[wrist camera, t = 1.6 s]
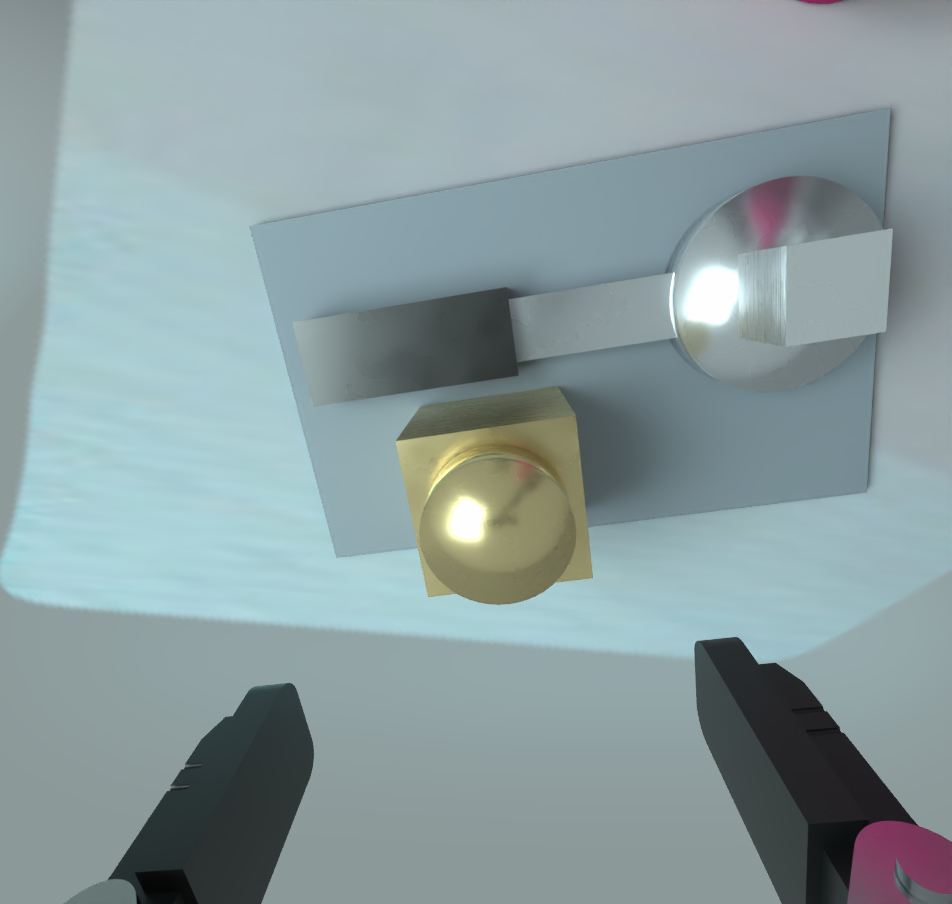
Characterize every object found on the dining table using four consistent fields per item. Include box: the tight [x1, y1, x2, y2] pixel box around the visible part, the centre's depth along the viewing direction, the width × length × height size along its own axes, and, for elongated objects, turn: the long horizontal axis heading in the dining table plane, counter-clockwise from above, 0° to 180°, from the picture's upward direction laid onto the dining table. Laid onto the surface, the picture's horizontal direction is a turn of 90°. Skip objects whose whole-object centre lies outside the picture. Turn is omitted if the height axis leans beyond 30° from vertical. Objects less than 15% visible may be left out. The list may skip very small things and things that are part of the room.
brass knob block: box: [395, 386, 593, 605], centre depth 21 cm, size 6×6×8 cm
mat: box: [250, 108, 891, 558], centre depth 23 cm, size 16×26×1 cm, turn 99°
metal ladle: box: [292, 176, 893, 407], centre depth 20 cm, size 8×24×6 cm, turn 99°
